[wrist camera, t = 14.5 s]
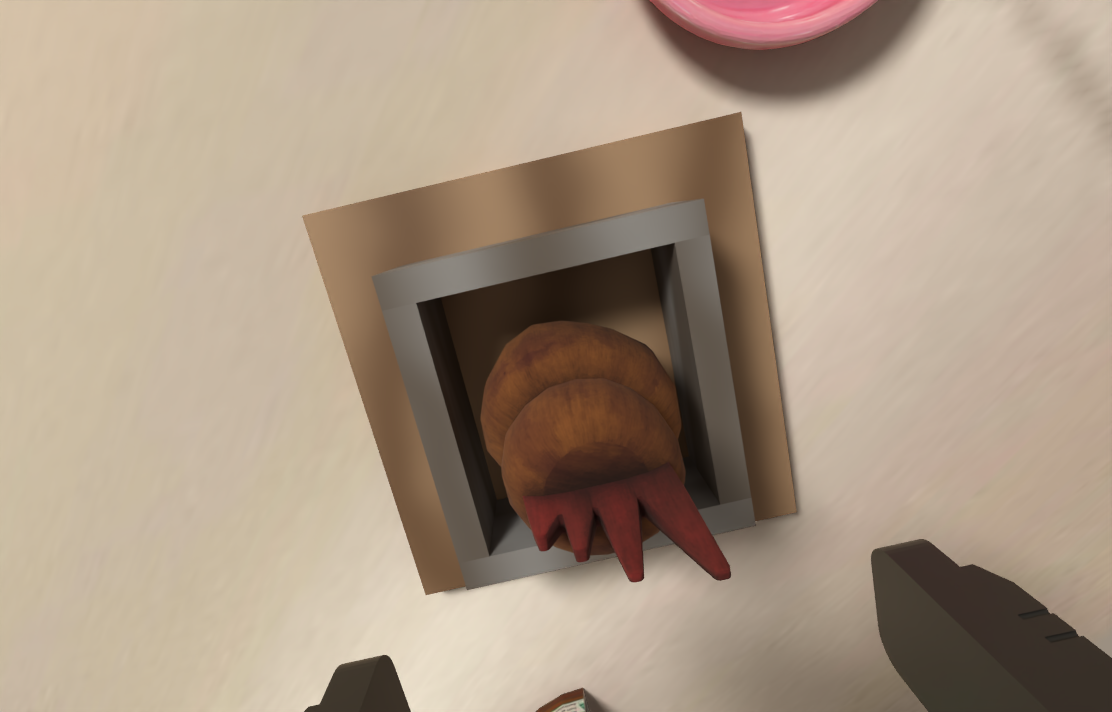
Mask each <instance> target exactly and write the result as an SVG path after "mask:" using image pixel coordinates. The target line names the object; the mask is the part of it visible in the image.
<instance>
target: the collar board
mask: <svg viewBox="0 0 1112 712" xmlns="http://www.w3.org/2000/svg"><path fill="white" fill-rule="evenodd" d="M302 217H303V220H304V223H305V226H306V229H307V232H308V235H309V238H310V241H311V244H312V247H313V251H314V254H315V257H316V260H317V263H318V266H319V269H320V272H321V275H322V278H323V281H324V284H325V287H326V290H327V293H328V297H329V300H330V303H331V306H332V309H333V312H334V315H335V318H336V321H337V324H338V327H339V330H340V333H341V336H342V339H343V343H344V346H345V349H346V352H347V355H348V358H349V361H350V364H351V367H352V370H353V373H354V376H355V379H356V382H357V385H358V389H359V392H360V395H361V398H362V401H363V404H364V407H365V410H366V413H367V416H368V419H369V422H370V425H371V428H372V431H373V435H374V438H375V441H376V444H377V447H378V450H379V453H380V456H381V459H382V462H383V465H384V468H385V471H386V474H387V477H388V481H389V484H390V487H391V490H392V493H393V496H394V499H395V502H396V505H397V508H398V511H399V514H400V517H401V520H402V523H403V527H404V530H405V533H406V536H407V539H408V542H409V545H410V548H411V551H412V554H413V557H414V560H415V563H416V566H417V569H418V573H419V576H420V579H421V582H422V585H423V588H424V591H425V594H426V595H429V594H433V593H438V592H442V591H446V590H451V589H455V588H460V587H464V586H466V588H467V590H470V589H474V588H478V587H483V586H487V585H492V584H496V583H501V582H505V581H510V580H514V579H519V578H523V577H528V576H532V575H537V574H541V573H546V572H550V571H554V570H559V569H563V568H568V567H572V566H577V565H581V564H586V563H590V562H595V561H599V560H604V559H608V558H613V557H617V555H616V553H612V554H608V555H590V558H589V560H588V561H585V562H577V561H576V559H575V556H574V553H571V552H568V551H565V550H562V549H559V548H556V547H554V546H552V547H551V548H550V549H549V550H547V551H539V549H538V546H537V544H536V542H535V540H534V537H533V533H532V531H531V530H530V529H529V527H528V526H527V525H526V524H525V523H524V521H523V520H522V519H521V518H520V516H519V515H518V514H517V513H516V512H515V510H514V509H513V508H512V506H511V505H510V503H509V499H508V496H507V492H506V488H505V485H504V481H503V478H502V468H501V466H500V465H499V464H498V463H497V462H496V460H495V459H494V458H493V457H492V456H491V454H490V453H489V452H488V451H487V448H486V443H485V438H484V434H483V429H482V424H481V419H480V417H481V410H482V403H483V396H484V388H485V385H486V381H487V379H488V377H489V375H490V373H491V371H492V369H493V367H494V365H495V364H496V362H497V360H498V358H499V356H500V354H501V352H502V351H503V349H504V347H505V345H506V344H507V343H508V342H510V341H511V340H512V339H514V338H515V337H516V336H518V335H519V334H520V333H522V332H523V331H524V330H526V329H527V328H528V327H530V326H531V325H534V324H541V323H548V322H554V321H572V322H582V323H590V324H594V325H598V326H602V327H606V328H611V329H614V330H616V331H618V332H620V333H622V334H624V335H627V336H629V337H631V338H633V339H635V340H638V341H640V342H642V343H644V344H646V345H647V346H648V347H649V348H650V349H651V350H652V351H653V352H654V354H655V355H656V357H657V358H658V360H659V362H660V363H661V365H662V366H663V368H664V369H665V371H666V372H667V374H668V375H669V377H670V379H671V380H672V382H673V383H674V385H675V388H676V394H677V400H678V406H679V412H680V418H681V430H680V433H679V437H678V442H679V446H680V450H681V454H682V458H683V462H684V466H685V471H686V474H685V483H684V486H685V488H686V490H687V492H688V493H689V495H690V497H691V499H692V500H693V502H694V504H695V506H696V507H697V509H698V511H699V513H700V515H701V516H702V518H703V520H704V522H705V523H706V525H707V527H708V529H709V530H710V532H711V534H712V535H715V534H720V533H724V532H729V531H733V530H738V529H742V528H747V527H751V526H756V524H755V521H759V520H764V519H768V518H773V517H777V516H782V515H786V514H791V513H795V512H797V511H796V504H795V497H794V490H793V482H792V475H791V468H790V461H789V453H788V446H787V439H786V432H785V425H784V417H783V410H782V403H781V396H780V389H779V381H778V374H777V367H776V360H775V352H774V345H773V338H772V331H771V324H770V316H769V309H768V302H767V295H766V287H765V280H764V273H763V266H762V259H761V251H760V244H759V237H758V230H757V222H756V215H755V208H754V201H753V194H752V186H751V179H750V172H749V165H748V158H747V150H746V143H745V136H744V129H743V121H742V114H741V112H739V113H735V114H731V115H726V116H722V117H718V118H714V119H709V120H705V121H701V122H697V123H693V124H688V125H684V126H680V127H676V128H671V129H667V130H663V131H659V132H654V133H650V134H646V135H642V136H638V137H633V138H629V139H625V140H621V141H616V142H612V143H608V144H604V145H600V146H595V147H591V148H587V149H583V150H578V151H574V152H570V153H566V154H561V155H557V156H553V157H549V158H545V159H540V160H536V161H532V162H528V163H523V164H519V165H515V166H511V167H507V168H502V169H498V170H494V171H490V172H485V173H481V174H477V175H473V176H468V177H464V178H460V179H456V180H452V181H447V182H443V183H439V184H435V185H430V186H426V187H422V188H418V189H413V190H409V191H405V192H401V193H397V194H392V195H388V196H384V197H380V198H375V199H371V200H367V201H363V202H359V203H354V204H350V205H346V206H342V207H337V208H333V209H329V210H325V211H320V212H316V213H312V214H308V215H304V216H302ZM671 544H675V543H674V542H672V541H671V540H670V539H669V538H668V537H667V536H666V535H665V534H663V533H662V532H661V531H659V532H658V533H657V534H655V535H654V536H652V537H651V538H649V539H647V540H646V541H644V542H643V551H644V550H648V549H653V548H657V547H662V546H666V545H671Z"/></svg>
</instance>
